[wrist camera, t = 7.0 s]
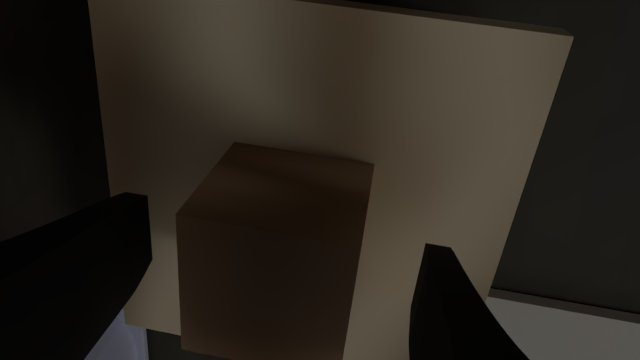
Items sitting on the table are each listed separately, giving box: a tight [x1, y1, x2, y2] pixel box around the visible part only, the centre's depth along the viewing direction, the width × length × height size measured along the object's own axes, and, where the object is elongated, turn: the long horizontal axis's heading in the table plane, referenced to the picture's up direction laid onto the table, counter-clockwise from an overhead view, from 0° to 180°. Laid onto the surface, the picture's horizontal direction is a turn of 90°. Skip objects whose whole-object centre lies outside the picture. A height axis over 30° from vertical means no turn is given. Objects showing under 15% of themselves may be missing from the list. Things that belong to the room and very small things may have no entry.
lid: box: [88, 0, 574, 360], centre depth 14 cm, size 12×12×5 cm
